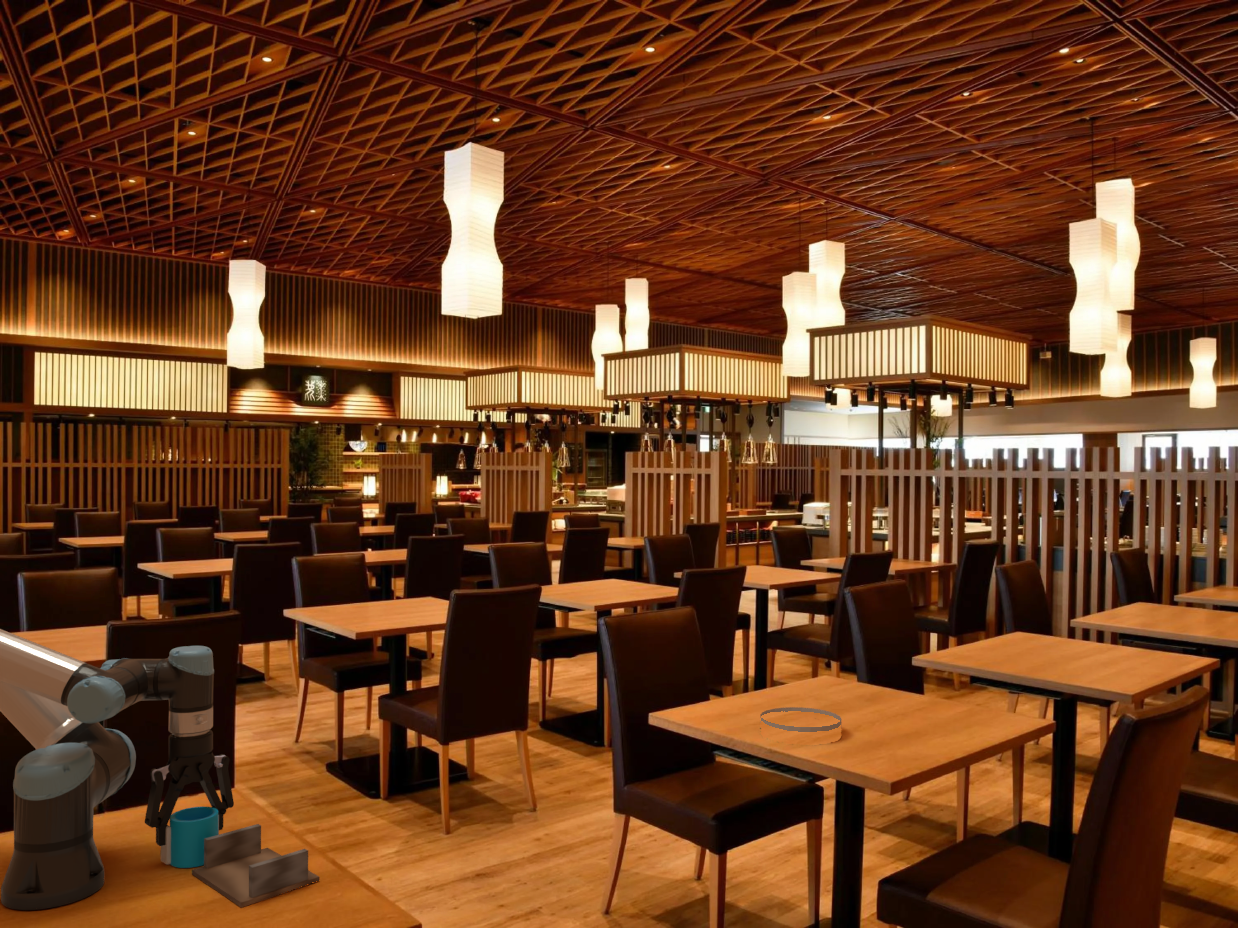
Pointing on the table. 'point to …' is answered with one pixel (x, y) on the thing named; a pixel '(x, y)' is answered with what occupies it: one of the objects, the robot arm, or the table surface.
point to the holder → (251, 867)
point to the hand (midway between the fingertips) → (190, 854)
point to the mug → (191, 835)
